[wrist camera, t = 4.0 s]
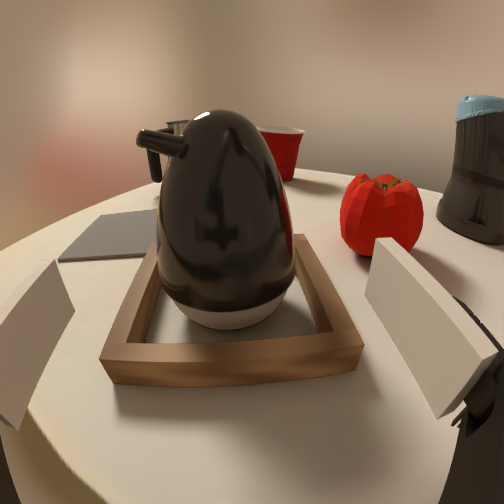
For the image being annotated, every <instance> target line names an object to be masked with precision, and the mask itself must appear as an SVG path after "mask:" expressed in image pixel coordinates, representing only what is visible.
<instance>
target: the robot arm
mask: <svg viewBox="0 0 504 504" xmlns="http://www.w3.org/2000/svg"><path fill="white" fill-rule="evenodd" d="M455 121H456V123H457V127H456V143H455V152H454V161H453V170H452V176H451V178H450V181H449V183H448V185H447V187H446V190H445V192H444V194H443V197H442V199H440V201H439V203H438V207H437V212H436V216H437V218H438V220H439V221H440V222H442V223H443V224H444V225H446V226H447V227H449V228H450V229H452V230H454V231H456V232H458V233H460V234H462V235H464V236H466V237H469V238H472V239H474V240H477V241H481V242H485V243H489V244H503V243H504V98H500V97H495V96H488V95H468V96H463V97H462V98H460V99H459V101H458V105H457V118H456V120H455ZM364 295H365V297H366V298H367V300H368V301H369V303H370V305H371V306H372V308H373V309H374V311H375V312H376V314H377V316H378V317H379V319H380V320H381V322H382V323H383V325H384V327H385V328H386V330H387V331H388V333H389V335H390V336H391V338H392V340H393V341H394V343H395V345H396V346H397V348H398V350H399V351H400V353H401V355H402V356H403V358H404V360H405V362H406V363H407V365H408V367H409V369H410V370H411V372H412V374H413V376H414V377H415V379H416V381H417V383H418V385H419V386H420V388H421V390H422V392H423V394H424V396H425V398H426V399H427V401H428V403H429V405H430V407H431V409H432V411H433V413H434V415H435V417H436V419H439V418H441V417H443V416H445V415H447V414H449V413H451V412H453V411H454V410H455V409H456V408H457V407H458V406H459V405H460V403H461V402H462V401H463V400H464V402H465V403H466V405H467V406H466V407H465V408H464V409H463V410H462V411H461V412H460V414H459V415H458V416H457V417H456V418H455V419H454V420H453V422H452V424H451V426H454V425H455V424H456V423H457V422H458V421H459V420H460V419H461V423H460V424H459V425H458V426H457V427H458V428H460V429H459V434H458V439H457V443H456V448H455V452H454V456H453V460H452V464H451V467H450V471H449V474H448V477H447V481H446V484H445V487H444V490H443V493H442V495H441V498H440V501H439V503H438V504H504V349H503V348H502V347H501V345H500V344H499V343H498V342H497V340H496V339H495V338H494V337H493V335H492V334H491V333H490V332H489V331H488V329H487V328H486V327H485V326H484V325H483V324H482V323H480V320H479V319H478V318H477V317H476V316H475V315H473V312H472V311H471V310H470V309H469V308H468V307H467V306H466V305H465V304H464V303H463V302H461V301H460V300H458V299H457V298H455V297H454V296H451V295H450V294H449V293H448V292H447V291H446V290H445V289H444V288H443V287H442V285H441V284H440V283H439V282H438V281H437V280H436V279H435V278H434V277H433V276H432V275H431V274H430V273H429V272H428V271H427V270H426V269H425V268H424V267H423V266H422V265H421V264H419V263H418V262H417V261H416V260H415V259H414V258H413V257H412V256H411V255H410V254H409V253H408V252H407V251H406V250H405V249H404V248H403V247H401V246H400V245H399V244H398V243H397V242H396V241H395V240H394V239H393V238H392V237H389V238H376V240H375V246H374V251H373V256H372V262H371V267H370V272H369V276H368V281H367V286H366V290H365V294H364ZM74 312H75V310H74V307H73V305H72V303H71V300H70V298H69V296H68V293H67V291H66V288H65V286H64V283H63V281H62V278H61V275H60V273H59V270H58V267H57V264H56V261H55V259H47V260H42V261H41V262H40V263H39V264H38V265H37V266H36V267H35V268H34V269H33V270H32V271H31V273H30V274H29V275H28V276H27V277H26V278H25V279H24V280H23V281H22V283H21V284H20V285H19V286H18V287H17V288H16V289H15V291H14V292H13V293H12V294H11V295H10V297H9V298H8V299H7V300H6V301H5V303H4V304H3V305H2V306H1V308H0V420H1V421H2V422H3V423H4V424H5V425H7V426H9V427H11V428H13V429H15V430H19V427H20V425H21V422H22V419H23V416H24V414H25V411H26V409H27V406H28V404H29V402H30V399H31V397H32V395H33V392H34V390H35V388H36V385H37V383H38V381H39V379H40V377H41V375H42V372H43V370H44V368H45V366H46V364H47V362H48V360H49V358H50V356H51V354H52V352H53V350H54V348H55V346H56V345H57V343H58V341H59V339H60V337H61V335H62V333H63V332H64V330H65V328H66V326H67V324H68V323H69V321H70V319H71V317H72V316H73V314H74ZM0 504H21V502H20V500H19V497H18V494H17V492H16V489H15V486H14V484H13V481H12V478H11V474H10V471H9V468H8V465H7V461H6V457H5V454H4V450H3V445H2V441H1V437H0Z"/></svg>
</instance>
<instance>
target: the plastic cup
mask: <svg viewBox="0 0 504 504" xmlns="http://www.w3.org/2000/svg"><path fill="white" fill-rule="evenodd" d="M257 129H258V130H259V132H260V133H261V135H262V136H263V138H264V140H265V141H266V143H267V145H268V147H269V149H270V151H271V153H272V156H273V158H274V160H275V163H276V165H277V168H278V171H279V174H280V177H281V180H282V181H290V180H292V178H293V175H294V169H295V165H296V160H297V155H298V149H299V144H300V142H301V139H302V136H303V134H304V133H305V131H304V130H300V129H295V128H287V127H257Z"/></svg>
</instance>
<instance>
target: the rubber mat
mask: <svg viewBox="0 0 504 504" xmlns="http://www.w3.org/2000/svg"><path fill="white" fill-rule="evenodd" d="M157 210H158V209H154V210H144V211H134V212H125V213H116V214H108V215H101V216H100V217H99V218H97V219H96V220H95V221H94V222H93V223H92V224H91V225H90V226H89V227H88V228H87V229H86V230H85V231H84V232H83V233H82V234H81V235H80V236H79V237H78V238H77V239H76V240H75V241H74V242H73V243H72V244H71V245H70V246H69V247H68V248H67V249H66V250H65V251H64V252H63V253H62V254H61V256H60V257H59V258H58V261H74V260H89V259H104V258H120V257H135V256H145V255H146V253H147V251H148V249H149V247H150V246H151V244H152V243H156V223H157Z"/></svg>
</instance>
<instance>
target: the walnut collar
mask: <svg viewBox="0 0 504 504" xmlns="http://www.w3.org/2000/svg"><path fill="white" fill-rule="evenodd" d="M294 243H295V254H296V267H295V272H296V274H297V277H298V279H299V282H300V285H301V287H302V290H303V292H304V295H305V297H306V300H307V302H308V305H309V308H310V310H311V313H312V315H313V318H314V321H315V323H316V326H317V329H318V331H319V333H318V334H310V335H302V336H293V337H284V338H273V339H262V340H249V341H233V342H214V343H178V344H148V343H144V341H145V337H146V334H147V330H148V327H149V323H150V320H151V317H152V313H153V310H154V307H155V304H156V301H157V297H158V294H159V291H160V288H161V285H162V284H161V280H160V276H159V270H158V262H157V247H156V243H152V244H151V246H150V247H149V249H148V251H147V253H146V255H145V257H144V259H143V261H142V263H141V265H140V267H139V269H138V271H137V273H136V275H135V277H134V279H133V281H132V283H131V285H130V288H129V290H128V292H127V294H126V296H125V298H124V300H123V303H122V305H121V307H120V309H119V312H118V314H117V316H116V318H115V321H114V323H113V325H112V328H111V330H110V332H109V335H108V337H107V340H106V342H105V345H104V347H103V350H102V352H101V355H100V357H99V360H100V362H101V364H102V365H103V367H104V369H105V371H106V372H107V374H108V376H109V377H110V379H111V381H112V382H113V383H117V384H129V385H143V386H167V387H211V386H235V385H251V384H263V383H273V382H282V381H291V380H299V379H306V378H313V377H319V376H325V375H331V374H337V373H342V372H347V371H352V370H355V369H356V367H357V364H358V361H359V358H360V355H361V353H362V350H363V347H364V343H363V341H362V339H361V337H360V335H359V333H358V331H357V329H356V327H355V325H354V323H353V321H352V320H351V318H350V316H349V314H348V312H347V310H346V308H345V306H344V304H343V303H342V301H341V299H340V297H339V295H338V293H337V292H336V290H335V288H334V286H333V284H332V282H331V281H330V279H329V277H328V275H327V273H326V272H325V270H324V268H323V266H322V265H321V263H320V261H319V259H318V258H317V256H316V254H315V252H314V251H313V249H312V247H311V245H310V244H309V242H308V240H307V239H306V237H305V235H304V234H294Z"/></svg>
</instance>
